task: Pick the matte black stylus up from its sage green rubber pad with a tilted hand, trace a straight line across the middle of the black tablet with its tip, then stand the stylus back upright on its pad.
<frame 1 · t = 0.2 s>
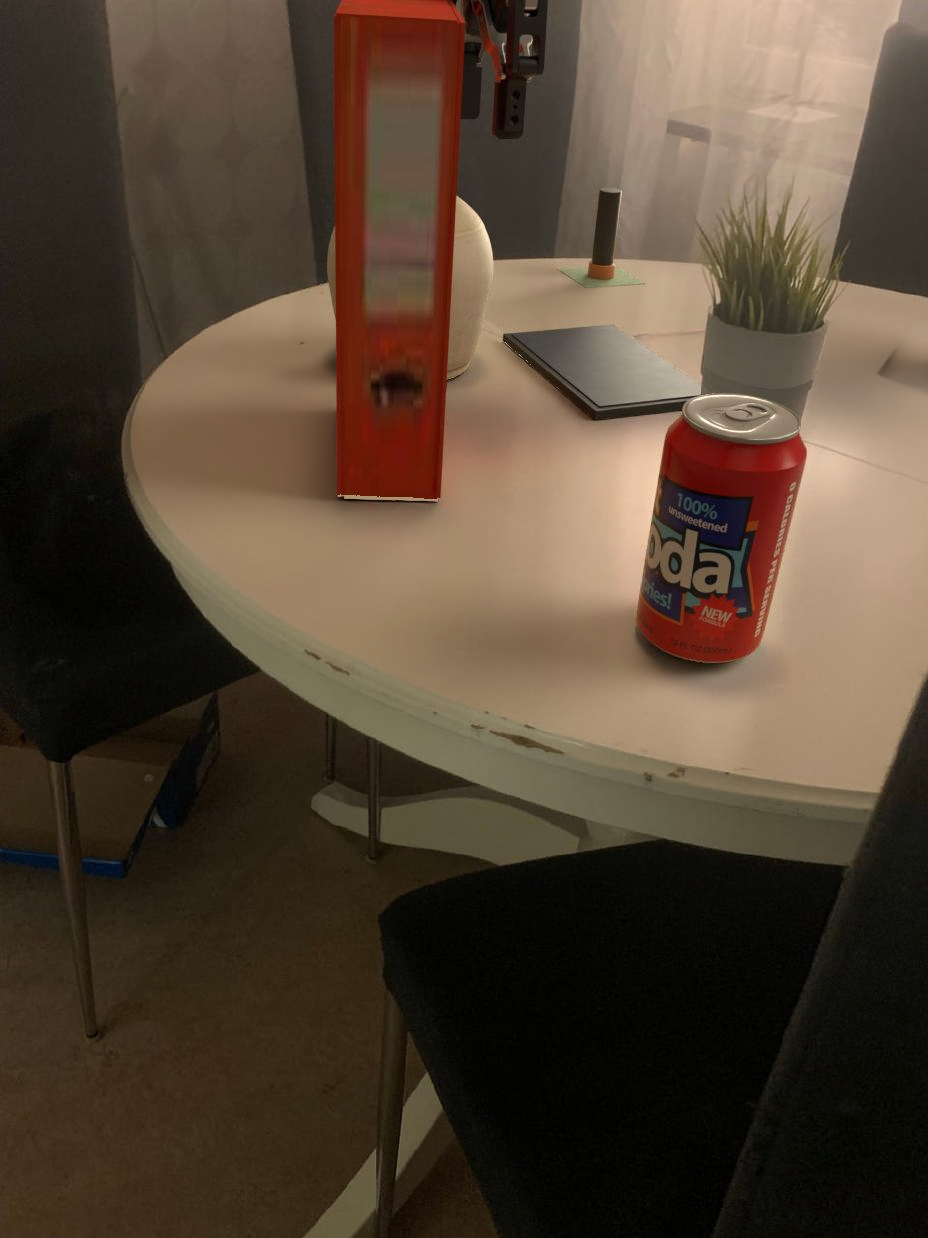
hand: (485, 127, 82), 23 cm above the table, tool pointing down, fingers open, 8 cm apart
soda can: (695, 639, 68), on the table
file binder: (390, 454, 88), on the table
tablet: (604, 372, 106), on the table
stylus pad: (600, 280, 132), on the table
jug: (408, 365, 106), on the table
stylus: (600, 275, 132), point 1 cm above the table, touching stylus pad
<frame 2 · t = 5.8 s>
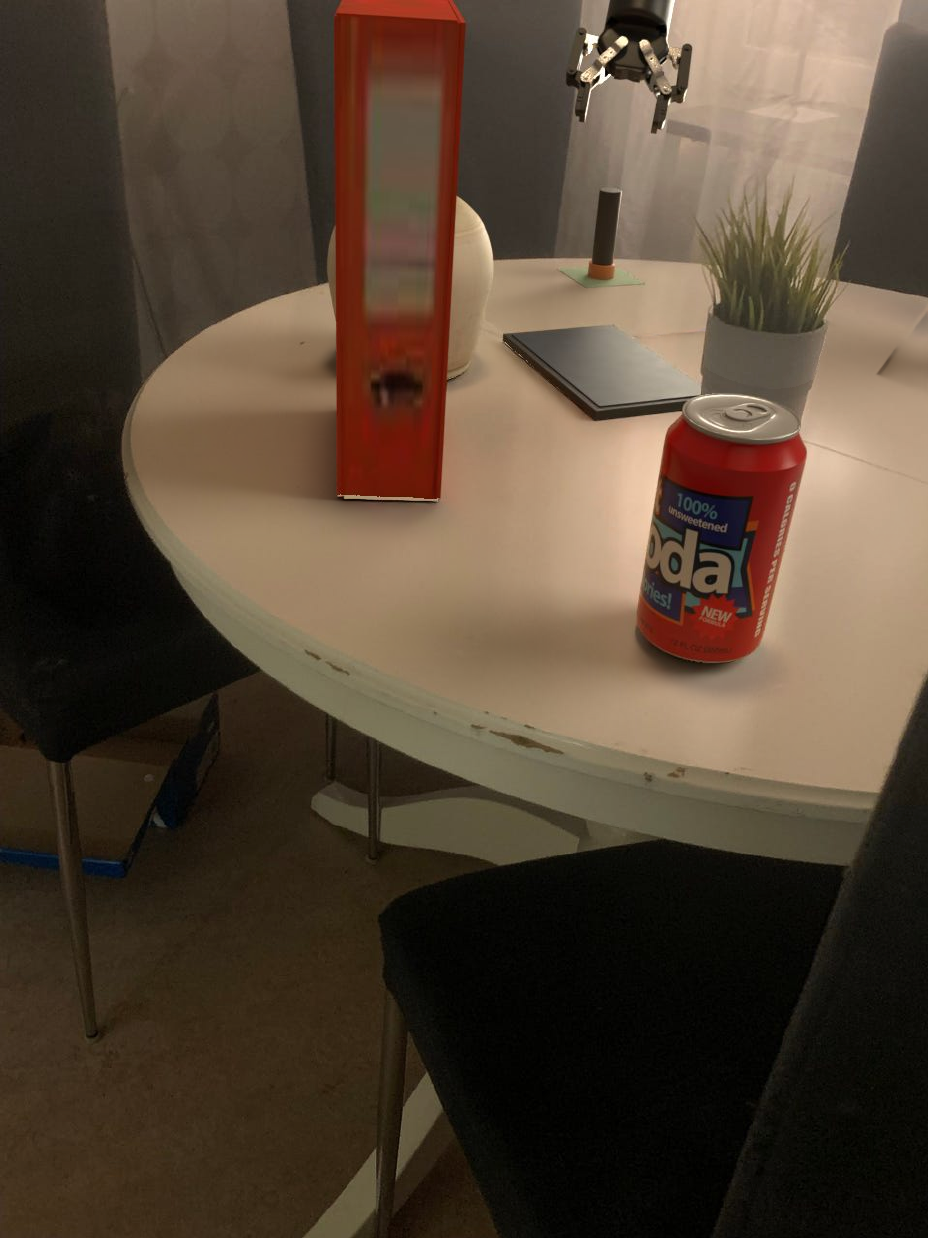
hand: (618, 124, 126), 17 cm above the table, tool tilted 40°, fingers open, 8 cm apart
nothing on the table moved.
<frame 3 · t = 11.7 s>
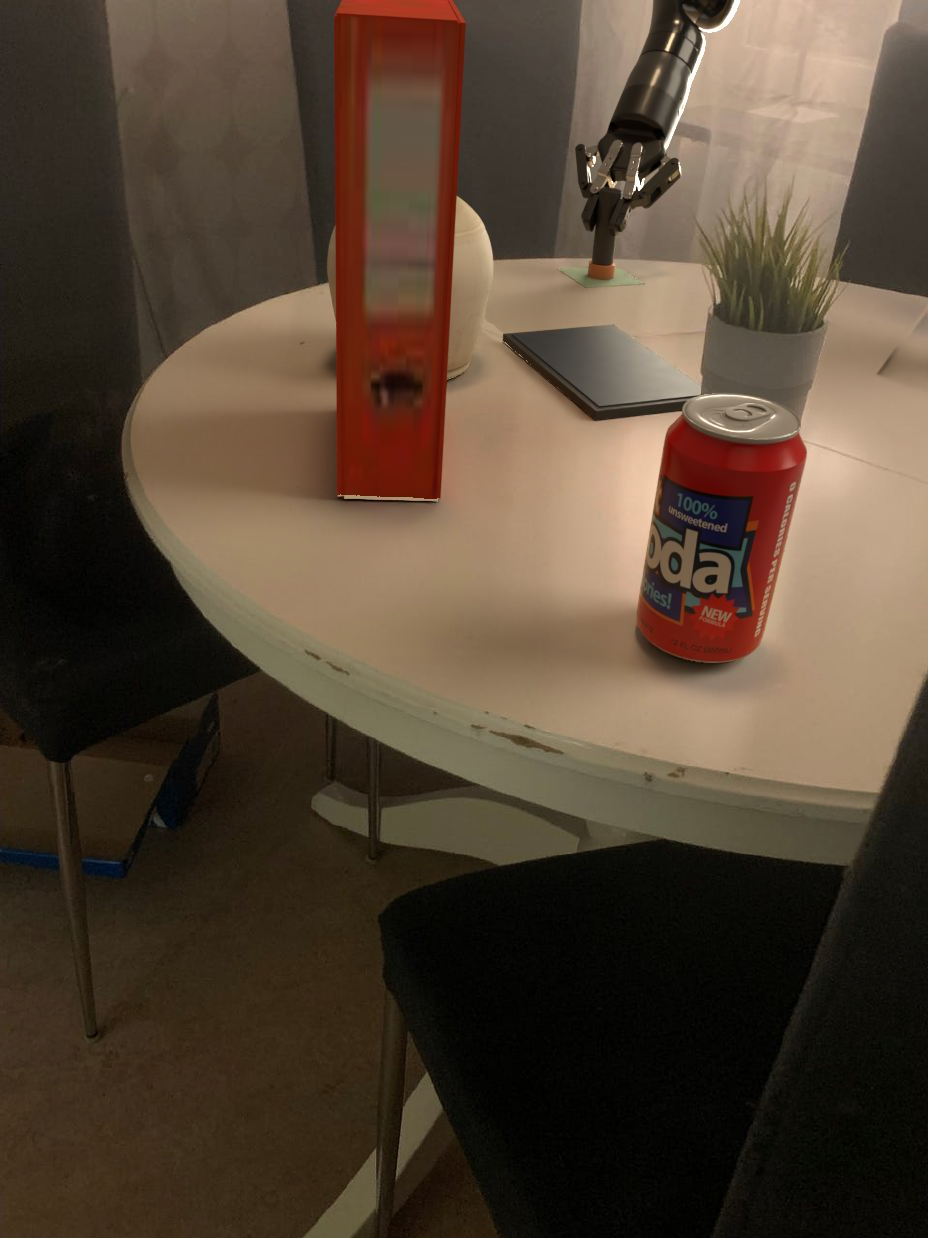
hand: (600, 228, 127), 7 cm above the table, tool tilted 45°, fingers closed on stylus, 2 cm apart
stylus: (600, 275, 132), point 1 cm above the table, touching gripper, stylus pad
everything else where it was.
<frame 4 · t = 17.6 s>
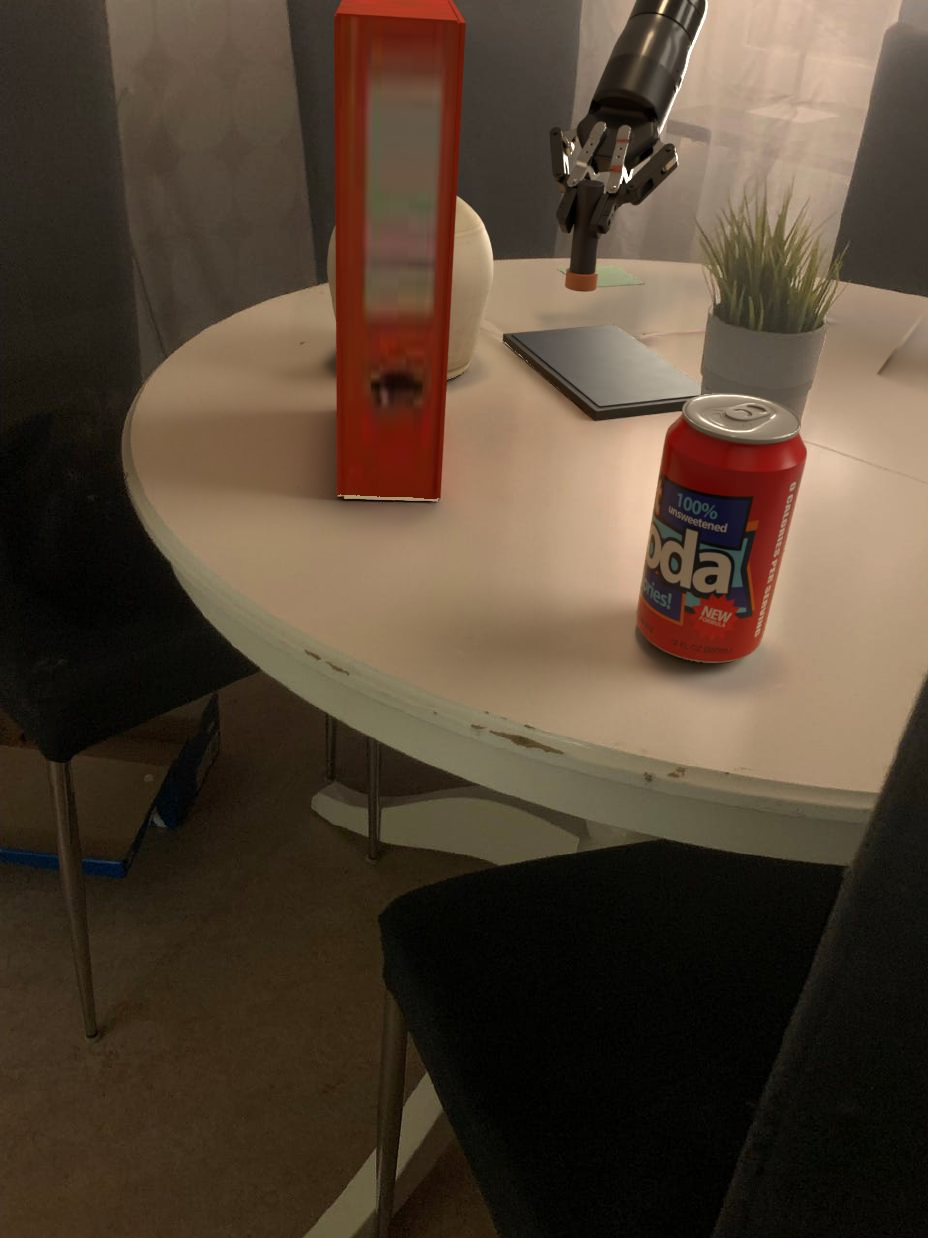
hand: (579, 230, 104), 12 cm above the table, tool tilted 45°, fingers closed on stylus, 2 cm apart
stylus: (580, 286, 109), point 6 cm above the table, touching gripper
everything else where it was.
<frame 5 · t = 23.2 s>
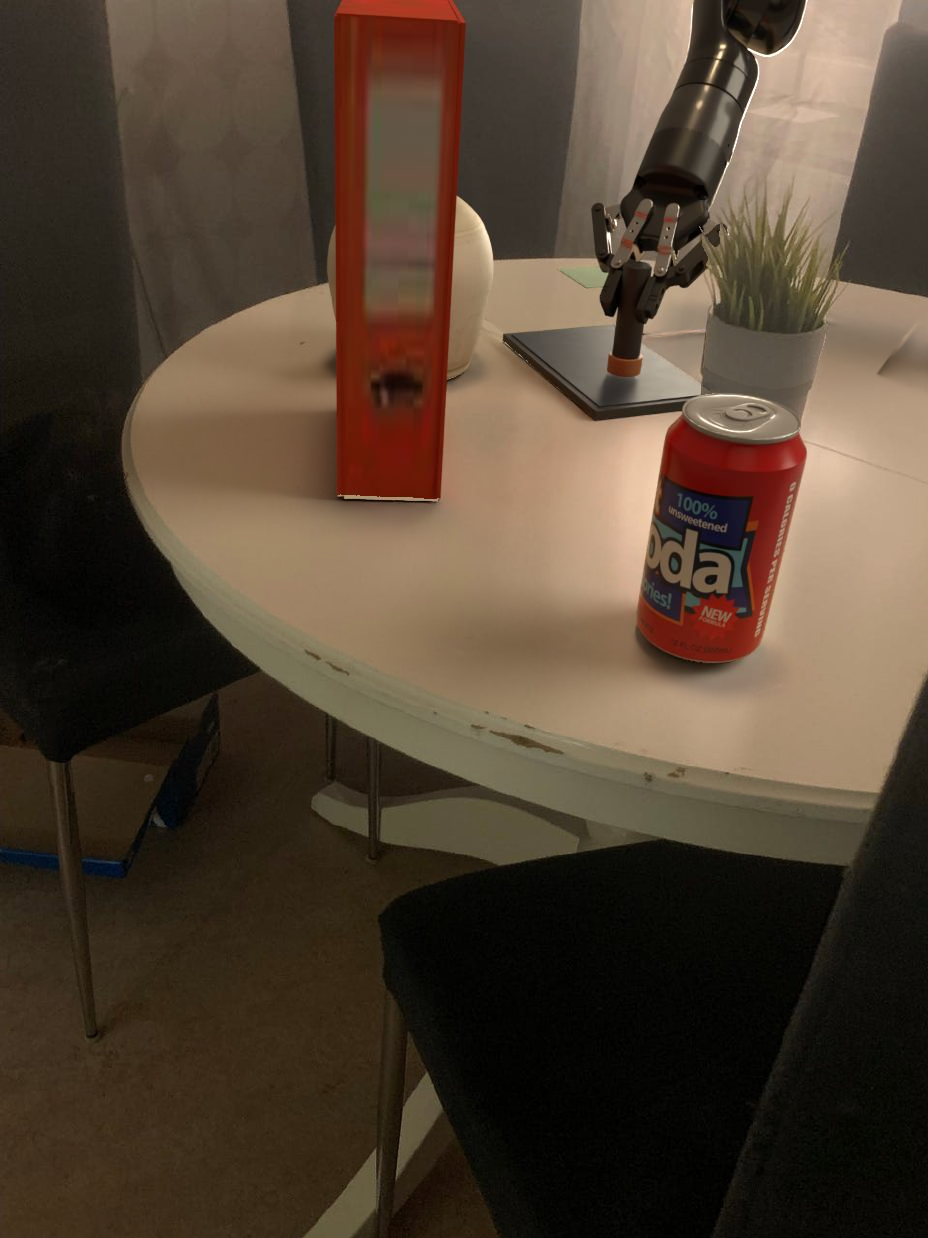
hand: (624, 314, 98), 7 cm above the table, tool tilted 45°, fingers closed on stylus, 2 cm apart
stylus: (623, 370, 103), point 1 cm above the table, touching gripper
everything else where it was.
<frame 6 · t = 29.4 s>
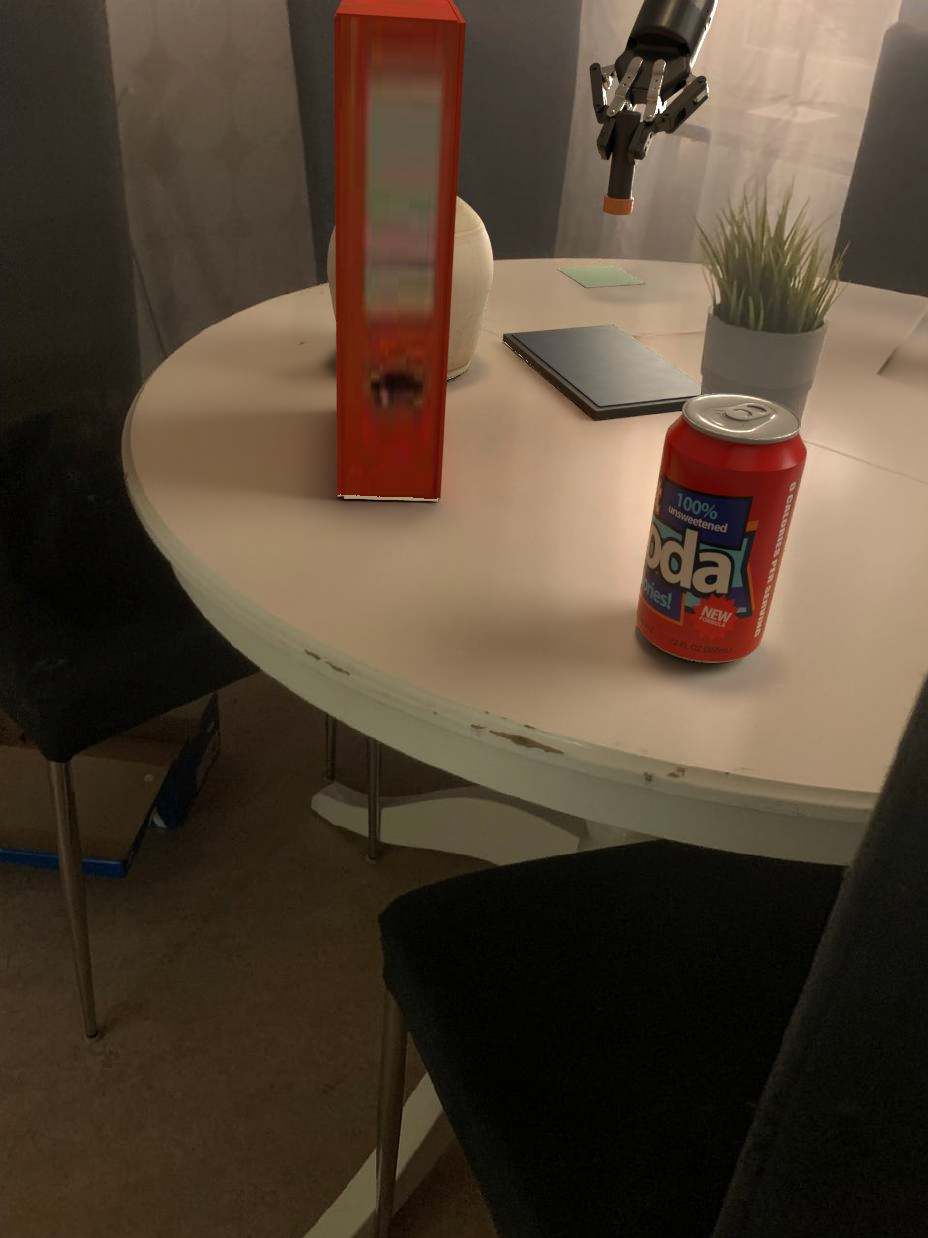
hand: (617, 156, 113), 16 cm above the table, tool tilted 45°, fingers closed on stylus, 2 cm apart
stylus: (617, 211, 118), point 10 cm above the table, touching gripper
everything else where it was.
when the fingers open (7 cm above the table, at t = 34.6 s): stylus stays where it is, resting on stylus pad.
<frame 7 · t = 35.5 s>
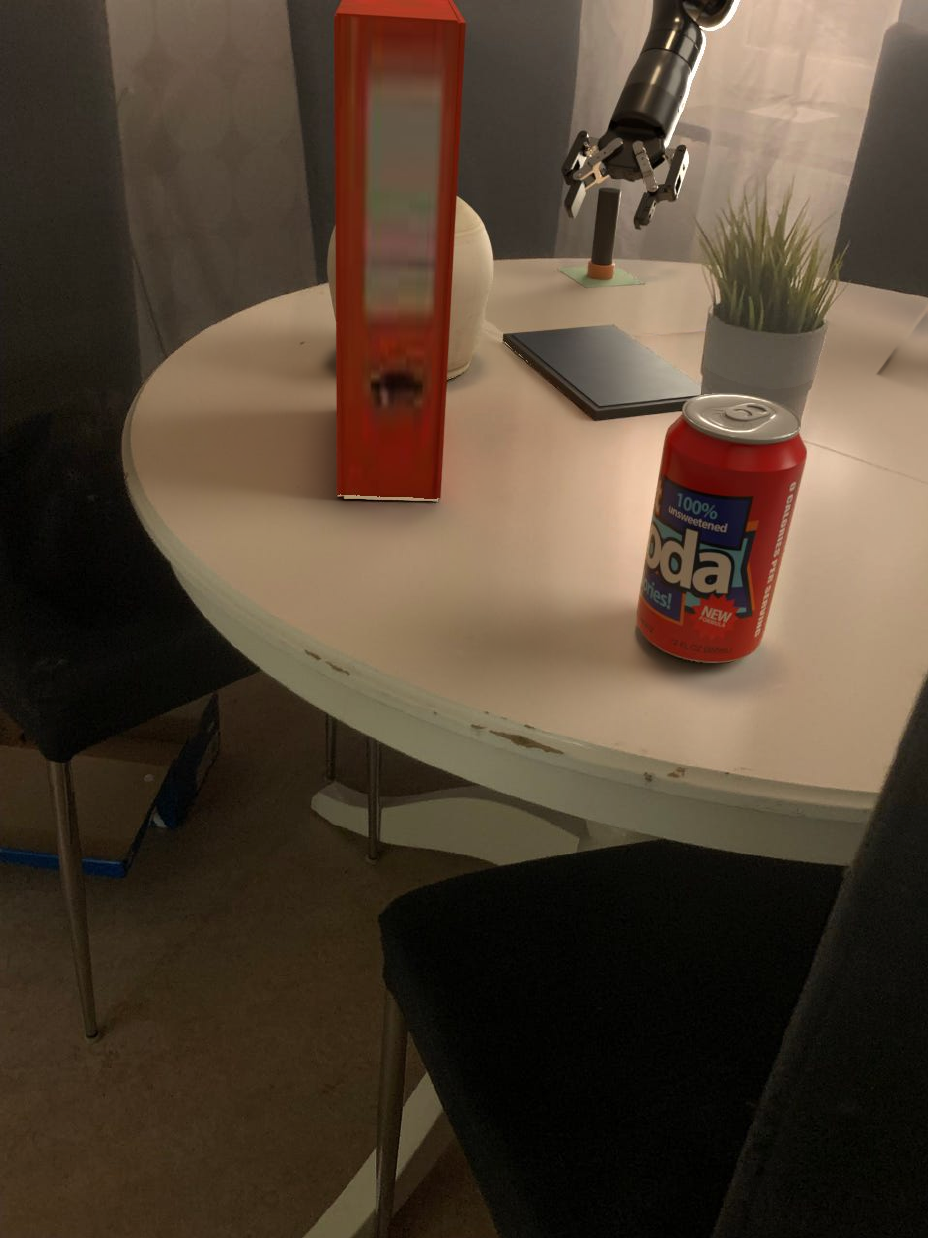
hand: (603, 219, 127), 7 cm above the table, tool tilted 45°, fingers open, 8 cm apart
stylus: (600, 275, 132), point 1 cm above the table, touching stylus pad
everything else where it was.
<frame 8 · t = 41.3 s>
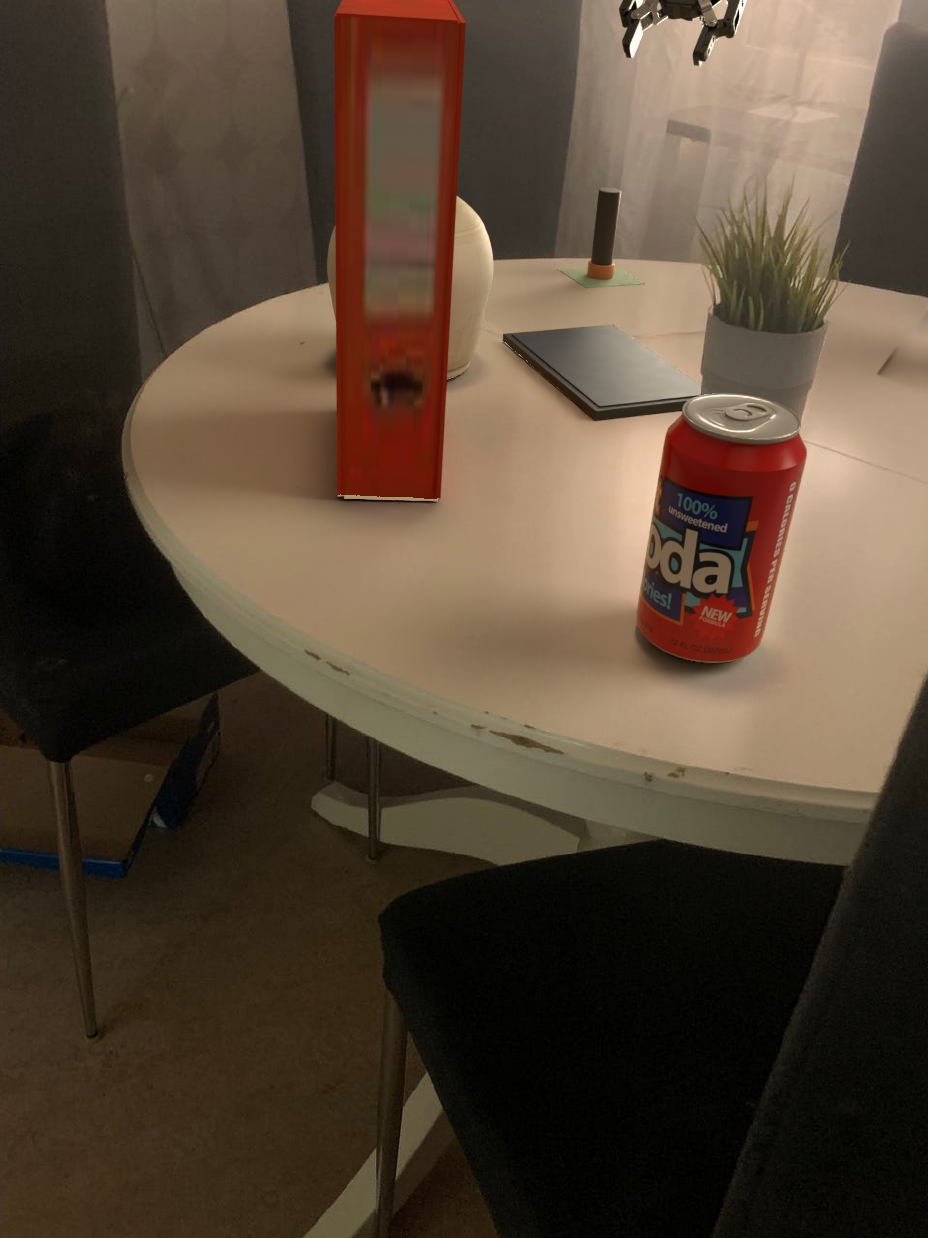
hand: (661, 56, 128), 24 cm above the table, tool tilted 45°, fingers open, 8 cm apart
nothing on the table moved.
at the end: stylus 0.1 cm off-centre on the stylus pad, point 0.6 cm above the stylus pad's base; stylus tilted 0°; stylus touching stylus pad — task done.
